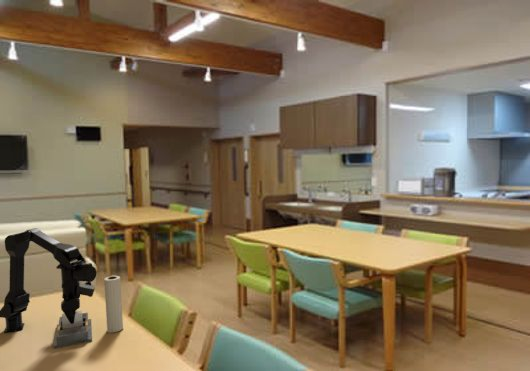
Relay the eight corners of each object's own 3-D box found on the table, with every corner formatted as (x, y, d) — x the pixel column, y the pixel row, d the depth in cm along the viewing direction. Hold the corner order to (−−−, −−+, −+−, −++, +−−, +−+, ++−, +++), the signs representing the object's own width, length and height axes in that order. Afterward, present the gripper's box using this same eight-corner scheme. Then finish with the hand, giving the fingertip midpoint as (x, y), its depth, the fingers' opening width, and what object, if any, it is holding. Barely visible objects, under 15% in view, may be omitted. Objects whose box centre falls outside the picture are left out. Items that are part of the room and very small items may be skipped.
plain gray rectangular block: (63, 333, 158) (62, 313, 157) (83, 330, 161) (81, 310, 160) (63, 336, 155) (61, 316, 155) (83, 333, 158) (81, 313, 157)
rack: (57, 327, 167) (56, 317, 167) (91, 321, 172) (90, 311, 172) (53, 348, 148) (52, 337, 148) (92, 341, 153) (91, 330, 153)
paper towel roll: (117, 333, 160) (114, 280, 158) (104, 332, 161) (100, 279, 159) (127, 325, 167) (124, 274, 165) (114, 324, 168) (111, 274, 166)
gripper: (93, 283, 151) (95, 324, 152) (92, 270, 168) (94, 307, 169) (59, 288, 147) (62, 330, 148) (62, 274, 164) (64, 312, 165)
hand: (72, 319), depth 157 cm, fingers open, 9 cm apart
